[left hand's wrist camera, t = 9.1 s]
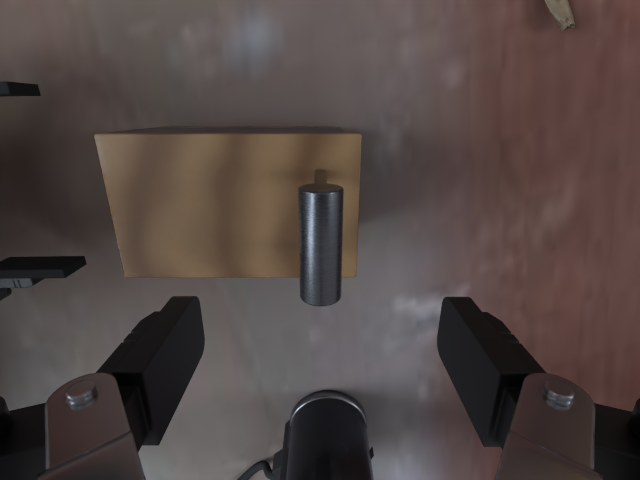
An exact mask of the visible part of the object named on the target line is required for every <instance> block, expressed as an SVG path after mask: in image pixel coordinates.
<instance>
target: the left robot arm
mask: <svg viewBox="0 0 640 480" xmlns="http://www.w3.org/2000/svg"><path fill="white" fill-rule="evenodd" d="M204 343H205V338H204V330H203V323H202V315H201V308H200V302H199V299H198V297H196V296H173V297H171V298H170V300H169V301H168V302H167V303H166V305H165V306H164V307H163V308H162V310H161V311H160V312H153V313H152V314H150V315H149V316H147V317H146V318H144V319H142V320H141V321H140V322H139V323H138V324H137V325H136V327H135V328H134V329H133V330H132V331H131V334H129V335H128V336H127V337H126V338H125V339H124V342H123V343H121V344H120V345H119V346H118V348H117V349H116V350H115V351H114V352H113V353H112V355H111V356H110V357H109V358H108V359H107V360H106V362H105V363H104V364H103V365H102V366H101V367H100V369H99V370H98V371H97V372H96V373H92V374H88V375H84V376H81V377H78V378H76V379H73V380H71V381H69V382H67V383H66V384H64V385H63V386H61V387H60V388H58V389H57V390H56V391H55V392H54V393H53V394H52V395H51V396H50V397H49V399H48V400H47V402H46V403H43V404H38V405H34V406H30V407H25V408H21V409H16V410H12V411H9V410H8V407H7V405H6V402H5V400H4V399H3V398H2V397H1V396H0V480H146V479H145V476H144V472H143V469H142V465H141V462H140V458H139V455H138V452H139V450H140V448H141V446H142V445H159V444H160V442H161V440H162V438H163V435H164V433H165V431H166V429H167V427H168V425H169V423H170V421H171V419H172V417H173V415H174V413H175V411H176V409H177V406H178V404H179V402H180V400H181V398H182V396H183V394H184V392H185V390H186V388H187V386H188V384H189V382H190V380H191V378H192V375H193V373H194V371H195V369H196V367H197V365H198V363H199V361H200V359H201V357H202V354H203V350H204ZM437 346H438V352H439V355H440V358H441V360H442V362H443V364H444V366H445V368H446V370H447V372H448V374H449V376H450V378H451V380H452V382H453V385H454V387H455V389H456V391H457V393H458V395H459V397H460V399H461V401H462V403H463V405H464V407H465V409H466V411H467V413H468V415H469V417H470V419H471V421H472V423H473V425H474V427H475V429H476V432H477V434H478V436H479V438H480V440H481V442H482V444H483V446H484V447H501V448H502V450H503V451H502V455H501V458H500V462H499V465H498V469H497V472H496V476H495V479H494V480H640V398H639V399H638V400H637V402H636V404H635V407H634V409H633V412H630V411H626V410H621V409H617V408H612V407H608V406H603V405H599V404H595V403H594V402H593V400H592V399H591V397H590V396H589V395H588V394H587V393H586V392H585V391H584V390H583V389H582V388H580V387H579V386H577V385H576V384H574V383H573V382H571V381H569V380H567V379H564V378H562V377H559V376H556V375H552V374H548V373H546V372H545V371H544V370H543V369H542V367H541V366H540V365H539V364H538V363H537V362H536V360H535V359H534V358H533V357H532V356H531V355H530V354H529V352H528V351H527V350H526V349H525V348H524V347H523V345H522V344H519V341H518V340H517V338H516V337H515V336H514V335H513V334H511V332H510V330H509V329H508V328H507V327H506V326H505V325H504V323H503V322H502V321H500V320H499V319H497V318H496V317H494V316H492V315H491V314H489V313H488V312H482V311H481V310H480V309H479V308H478V306H477V305H476V304H475V303H474V301H473V300H472V299H471V298H470V297H445V298H444V299H443V302H442V307H441V315H440V322H439V329H438V336H437ZM366 428H367V424H366V417H365V413H364V410H363V408H362V406H361V405H360V404H359V403H358V402H357V401H356V400H355V399H353V398H352V397H350V396H348V395H346V394H343V393H340V392H334V391H323V392H317V393H314V394H311V395H309V396H307V397H305V398H303V399H302V400H301V401H299V402H298V403H297V405H296V406H295V407H294V409H293V411H292V414H291V420H290V421H288V422H287V423H286V424H285V433H284V442H283V449H282V450H280V451H279V452H277V453H276V454H274V461H273V468H272V470H271V467H270V465H269V463H268V462H266V461H261V462H258V463H256V464H254V465H253V466H252V467H250V468H249V469H248V470H247V471H246V472H245V473H244V474H243V475H242V476H241V477H240V478H239V479H238V480H248V479H249V478H250V477H251V476H252V475H253V474H255V473H256V472H257V471H259V470H262V469H263V470H264V473H265V476H266V477H267V478H269V479H271V480H374V477H373V471H372V464H371V459H372V457H373V456H374V454H373V447H372V448H371V449H370V450H369V443H368V437H367V430H366Z"/></svg>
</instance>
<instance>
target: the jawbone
mask: <svg viewBox="0 0 640 480" xmlns="http://www.w3.org/2000/svg"><path fill="white" fill-rule="evenodd" d="M545 2H546V4H547V7H548V8H549V10H550V12H551V13H552V15H553V17H554V19H555V21H556V23H557V24H558V27H559V28H560V31H562V30H565V29H567V28H568V27H569V26H571V27H570V28H574V27H575V23H574V18H573V15H572V12H571V9H570V6H569V2H568V0H545Z"/></svg>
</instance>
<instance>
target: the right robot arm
mask: <svg viewBox="0 0 640 480" xmlns="http://www.w3.org/2000/svg"><path fill="white" fill-rule="evenodd" d="M0 96H41V95H40V91H39V87H38V85H36V84H26V83H15V82H0ZM84 265H86V260H85V257H84V256H58V257H9V258H7V259H5V260H3V261H0V300H2V299H4V298H5V297H7V296H9V295H10V294H11V293H12V292H11V289H10V288H28V287H30V286H33V285H35V284H36V283H38V282H39V281H41V280H43V279H44V278H66V277H67V276H69V275H70V274H72V273H74V272H75V271H77V270H78V269H80V268H81V267H83V266H84Z"/></svg>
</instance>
